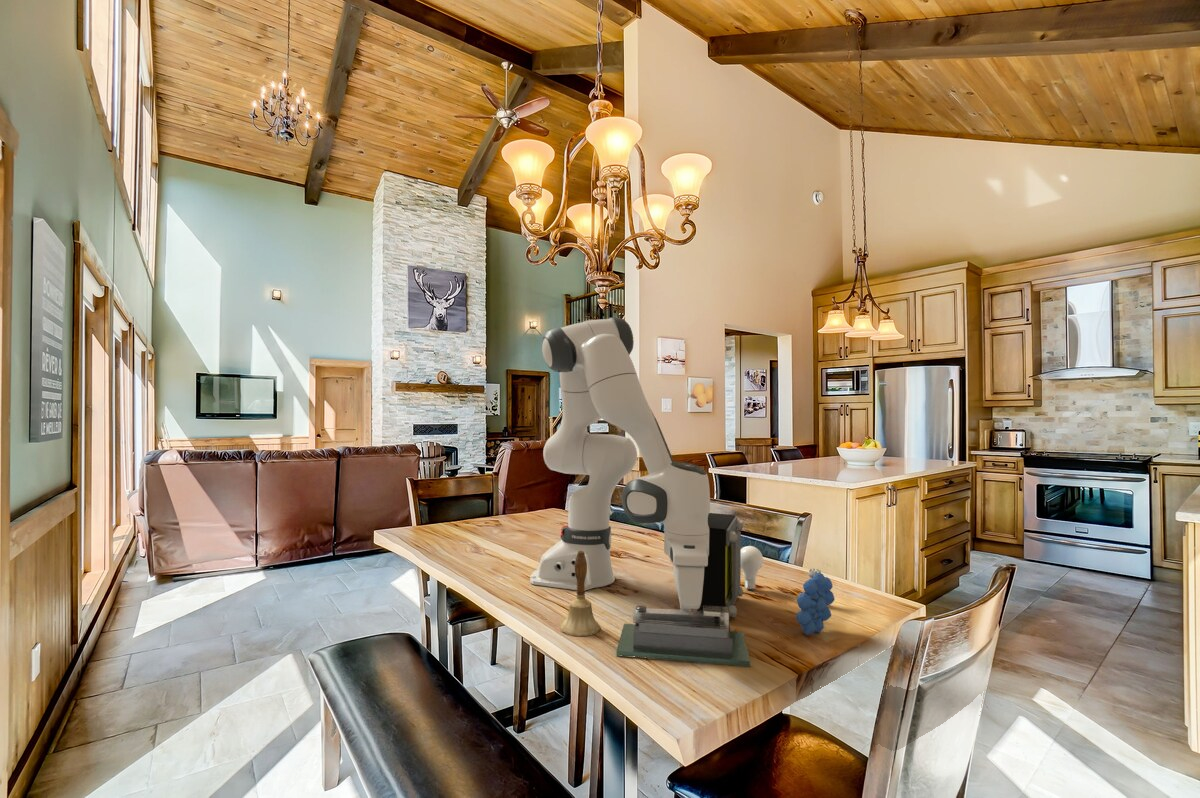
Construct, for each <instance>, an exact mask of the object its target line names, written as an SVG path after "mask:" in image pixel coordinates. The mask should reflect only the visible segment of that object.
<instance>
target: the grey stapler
mask: <svg viewBox="0 0 1200 798" xmlns="http://www.w3.org/2000/svg"><path fill="white" fill-rule="evenodd" d="M703 612H704V616H717V617H719V618H714V624H700V623H685V622H671V621H656V620H642V619H640V621H639V623H623V626H622V629H621V633H620V637H619V641H618V644H617V647H616V652H615V653H616V654H615V655H622V656H635V657H646V658H655V659H654V660H658V659H661V661H674V662H685V663H686V662H687V663H696V664H697V663H698V664H710V665H722V666H732V667H733V666H735V667H736V666H737V667H746V668H747V667H748V668H749V667H750V668H751V659H750V654H749V651H748V648H747V644H746V639H745V636H744V632H743V631H735V630H734V631H733V630H731V626H730V617H729V612H728V607H720V606H705V605H703ZM646 658H645V659H646Z"/></svg>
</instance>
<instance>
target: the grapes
mask: <svg viewBox="0 0 1200 798" xmlns="http://www.w3.org/2000/svg"><path fill="white" fill-rule="evenodd" d="M833 587H834V586H833V582H832V581H831V579H830V578H829V577H828V576H826V577H825V575H824V574H823V573H816V574H815V575H814V576H813V577H812V578H811V579H807V580H805V582H804V583H803V584H802V588H803V591H804V592H801V593H799V595H798V596H797V597H796V603H797V606H798V608H799V611H798V612H797V613H796V616H795V617H796V621H797V624H798V625H800V626H801V630H802V632H803V634H805V635H808V636H809V635H811V634H813V633H820V632H822V630H823V629H824V628H825V625H824V622H827V621H828V620H829V619H830V618H831V617H832V613H831V609H830V607H829V606H830V605H832V604H833V603H834V601H835V600H836V599H835V595H834V593H833V592H832V589H833Z"/></svg>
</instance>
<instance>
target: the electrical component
mask: <svg viewBox="0 0 1200 798" xmlns="http://www.w3.org/2000/svg"><path fill="white" fill-rule="evenodd" d="M708 526H709V556H708V566H704V581H703V592H702V600H701V605H700V608H699V609H696V610H700V611H703V605H705V606H720V607H728V612H729V618H730V617H735V618H736V616H737V613H738V609H737V607H736V605H735V604H736V603H737V599H738V597H741V598H742V597H743V595H744V590H743V589H744V588H743V586H741V577H742V576H741V575H742V574H741V571H742V569H741V549H742V546H741V545H742V544H741V542H742V541H741V539H742V538H741V537H742V535H741V533H742V532H741V531H743V529H744V521H743V520H741V519H740V520H738V516H737V515H735V514H730V513H729V514H726V513H715V512H714V513H713V512H709V514H708ZM714 618H719V617H717V616H714Z"/></svg>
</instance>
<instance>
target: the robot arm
mask: <svg viewBox="0 0 1200 798" xmlns="http://www.w3.org/2000/svg"><path fill="white" fill-rule="evenodd" d="M541 346H542V347H541V351H542V357H543V359H544V361H545V363H546V365H547V367H548V368H549V369H550V370H551V371H553V372H557V373H559V384H560V394H561V395H560V396H561V406H562V409H561V410H562V416H561V421H560V422H561V423H560V425H559V427H558V428H557V430H556V432H555V433H554V434H553V435H551V436H550V437H549V438H548V439H547V440H546V442H545V444H544V447H543V451H542V452H543V453H542V456H543V461H544V464H545V465H546V467H547V468H548V469H549V470H550V471H555V472H558V473H562V474H565V475H566V474H567V475H583V476H584V475H587V476H589V480H588V483H587V485H585V486H583V487H581V488H579V489H577V490H576V491H574V492H573V493H571V495H570V497H569V498H568V504H567V505H568V506H567V507H568V511H567V515H568V519H567V520H568V522H567V523H564V525H562V527H561V529H560V532H559V533H560V534H559V536H560V540H559V541H557V542H556V543H555V544H554V545H553V546H551V547H550V548H548V549H547V550H546V551H545V552H544V553H543V555H541V558H540V561H539V565H538V568H537V569H535V570H534V571H533V572H532V573H531V574H530V576H529V577H530V578H529V582H530V584H532V585H536V586H541V587H542V586H543V587H549V588H557V589H566V590H573V591H577V579H576V575H575V560H576V557H577V554H578V551H584V555H585V558H586V562H587V573H586V577H585V582H584V587H585V591H587V590H591V589H594V588H601V587H605V586H608V585H612V584H613V583H614V582H615V580H616V578H615V574H614V570H613V566H612V559H611V547H612V527H611V526H610V516H611V515H610V514H611V513H610V512H611V503H612V502H611V501H612V498H613V497H612V495H613V494H614V491H615V489H616V487H617V485H618V484H619V482H620V481H621V480H622V479H623V478H624V477H625V476H627V475H628V474H629V473H631V472H632V470H633V469H634V468H635V466H636V463H637V460H638V459H637V458H638V451H637V448H638V450H639V453H640V455H641V459H642V461H643V462H644V465H645V468H646V469H647V473H648V474H646V475H644V476H643V475H642V476H639V477H637V478H636V477H635V478H633V479H632V480H630V481H628V482H627V483H626V484H625V486H624V487H623V490H622V492H621V507H622V509H623V511H624V513H625V515H626V516H627V518H628V519H629V520H631V521H632V522H634V523H636V524H642V525H647V524H648V525H649V524H658V523H661V524H662V525H663V526H664V537H663V538H664V539H663V545H664V546H663V552H664V554H665V555H666V556H667V557H668V558H669V562H670V563H672V564H673V565H672V566H673V567H672V568H673V570H672V571H673V574H672V575H673V579H674V583H675V584H674V585H675V588H676V592H677V598H678V601H679V610H697V609H699V608H700V605H701V600H702V592H703V581H704V566H708V556H709V526H708V514H709V513H710V511H711V493H710V491H711V489H710V482H709V481H710V480H709V476H708V473H707V471H706V470H705V469H704V468H702V467H701V466H700V465H697V464H694V463H691V462H684V461H674V458H673V455H672V454H671V451H670V449H669V447H668V444H667V441H666V440H665V437H664V434H663V432H662V429H661V426H660V425H659V421H658V420H657V418H656V417H655V414H654V412H653V410H652V409H651V406H650V405H649V402H648V400H647V398H646V396H645V393H644V391H643V389H642V386H641V383H640V380H639V377H638V374H637V371H636V368H635V365H634V363H633V360H632V358H631V356H630V355H631V353H632V351H633V349H634V334H633V331H632V328H631V326H630V325H629V323H628V322H627V321H626V320H625V319H624V318H620V317H607V318H605V319H604V318H603V319H602V318H601V319H589V320H583V321H582V322H577V323H573V324H569V325H566V326H562V327H559V326H558V327H555V328H552V329H550V330H548V331H546V332H545V334H544V336H543V338H542V345H541ZM601 419H602V420H604V422H606V423H608V424H611V425H613V426H615V427H617V428H619V429H621V430H622V431H624V432H625V433H627V434H628V435H629V436H630V437H631V438H629V437H626V436H623V435H616V434H606V433H604V434H603V433H589V432H588V428H587V427H589V426H591V425H593V424H595V423H596V422H599V420H601ZM631 439H632V440H633V441H632V440H631ZM634 441H635V443H634ZM635 444H636V445H635ZM636 446H637V448H636Z"/></svg>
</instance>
